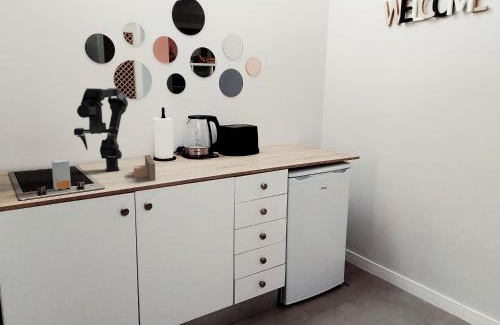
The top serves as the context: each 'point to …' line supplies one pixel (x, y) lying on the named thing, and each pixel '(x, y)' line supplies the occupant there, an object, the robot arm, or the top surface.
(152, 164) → the walnut board
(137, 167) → the terracotta block
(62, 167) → the skincare box
